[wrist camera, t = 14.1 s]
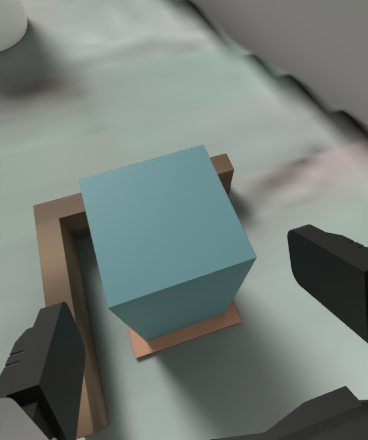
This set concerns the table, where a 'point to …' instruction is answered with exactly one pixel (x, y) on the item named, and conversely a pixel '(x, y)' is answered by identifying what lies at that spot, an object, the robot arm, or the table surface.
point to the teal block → (166, 242)
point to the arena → (75, 297)
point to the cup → (11, 23)
